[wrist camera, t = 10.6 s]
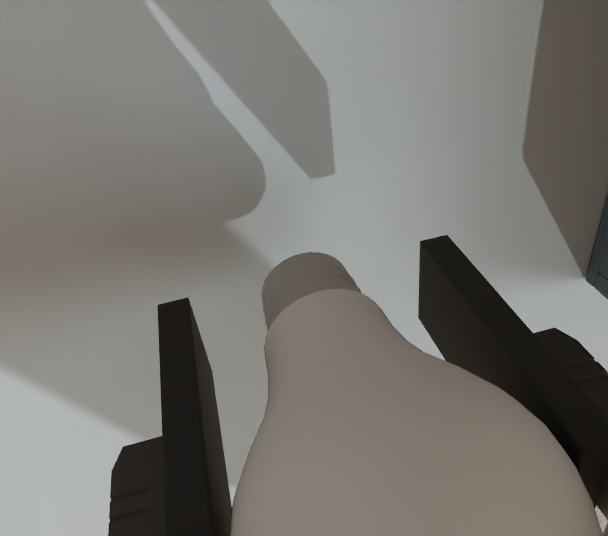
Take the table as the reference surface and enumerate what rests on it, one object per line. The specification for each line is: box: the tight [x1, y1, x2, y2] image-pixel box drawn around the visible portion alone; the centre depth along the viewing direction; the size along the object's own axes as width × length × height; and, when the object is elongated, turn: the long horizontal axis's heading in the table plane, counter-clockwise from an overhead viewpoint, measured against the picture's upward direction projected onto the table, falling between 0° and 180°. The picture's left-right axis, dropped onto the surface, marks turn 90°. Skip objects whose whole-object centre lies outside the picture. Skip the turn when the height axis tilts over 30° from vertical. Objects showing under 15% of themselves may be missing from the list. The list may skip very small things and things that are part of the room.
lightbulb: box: [229, 252, 603, 536], centre depth 11 cm, size 6×6×11 cm
